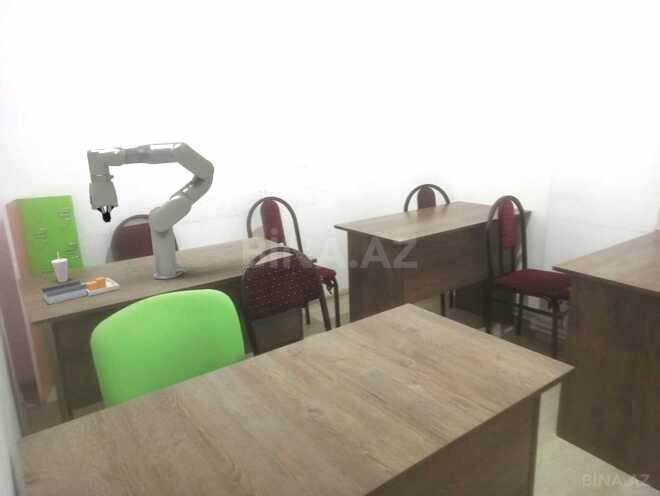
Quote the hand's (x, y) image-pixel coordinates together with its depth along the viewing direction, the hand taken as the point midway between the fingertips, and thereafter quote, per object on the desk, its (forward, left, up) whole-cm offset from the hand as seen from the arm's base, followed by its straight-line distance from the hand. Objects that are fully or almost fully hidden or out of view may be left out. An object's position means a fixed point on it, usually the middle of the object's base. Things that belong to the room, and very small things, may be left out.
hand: (107, 221), depth 206 cm
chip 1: (+5, +12, -27) cm, 29 cm away
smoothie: (+26, -2, -27) cm, 38 cm away
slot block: (+12, +19, -27) cm, 35 cm away
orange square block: (+3, +10, -25) cm, 27 cm away
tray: (+3, +10, -27) cm, 29 cm away
